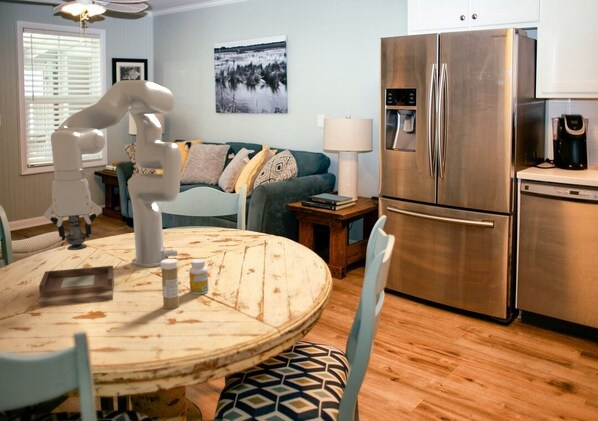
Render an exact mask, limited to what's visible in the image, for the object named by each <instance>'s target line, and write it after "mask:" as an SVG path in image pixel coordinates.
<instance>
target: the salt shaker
mask: <svg viewBox="0 0 598 421" xmlns="http://www.w3.org/2000/svg"><path fill="white" fill-rule="evenodd" d="M67 217H68V222H67V225H68V228H69V230H68V231H69V232H68V234H65V240H66V242H67V244H69V245H68V247H67V248H66V250H68V251H80V250H84V249H87V247H88V245H87V244H84V243H85V242H86V240H87V239H86V232H83V231H82V227H81V224H82V221H80V220H81V219H80V215H79V216H67Z"/></svg>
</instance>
